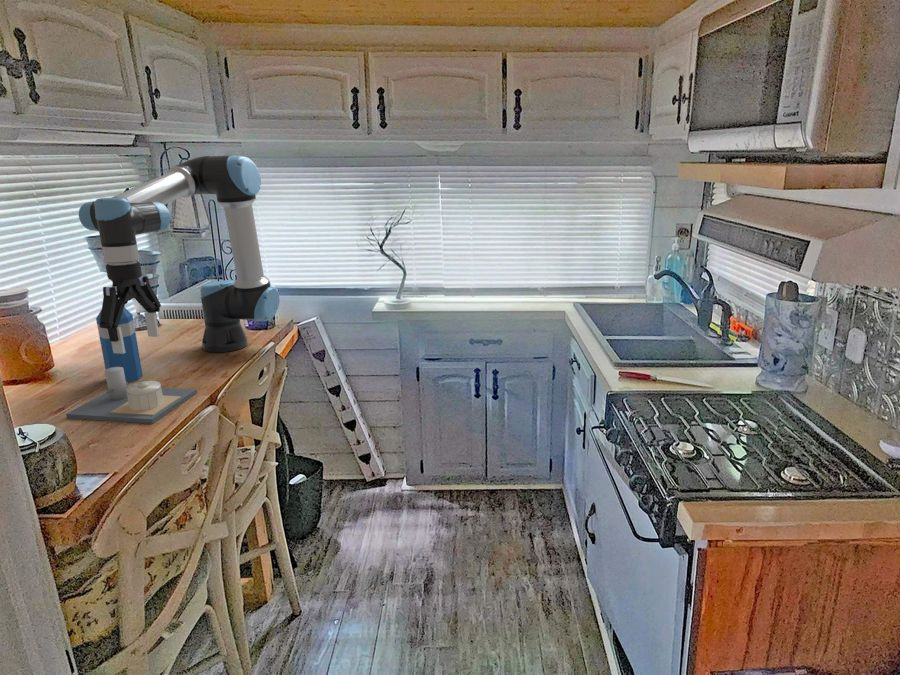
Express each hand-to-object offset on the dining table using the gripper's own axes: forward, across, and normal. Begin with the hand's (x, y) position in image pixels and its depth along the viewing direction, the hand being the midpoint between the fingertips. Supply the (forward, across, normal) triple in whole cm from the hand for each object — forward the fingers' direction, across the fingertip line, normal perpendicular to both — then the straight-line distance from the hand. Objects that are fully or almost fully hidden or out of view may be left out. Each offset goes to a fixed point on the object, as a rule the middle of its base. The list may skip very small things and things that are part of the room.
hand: (137, 344), depth 149 cm
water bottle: (+18, -19, -21) cm, 34 cm away
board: (+18, -2, -5) cm, 19 cm away
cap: (+16, 0, 0) cm, 16 cm away
